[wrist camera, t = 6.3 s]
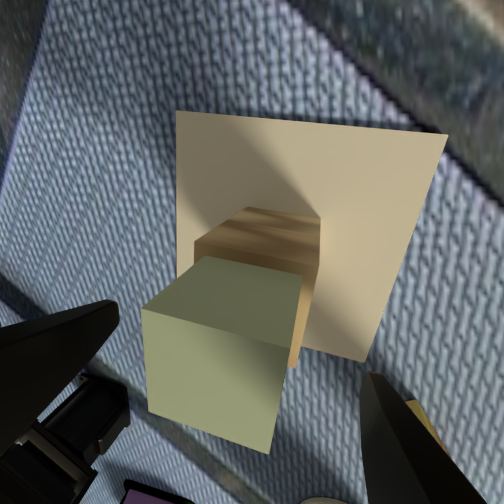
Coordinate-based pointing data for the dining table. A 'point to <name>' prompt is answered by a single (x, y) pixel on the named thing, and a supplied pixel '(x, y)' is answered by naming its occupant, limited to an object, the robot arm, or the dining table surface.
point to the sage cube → (221, 348)
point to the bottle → (322, 501)
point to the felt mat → (312, 204)
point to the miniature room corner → (149, 495)
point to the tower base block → (279, 220)
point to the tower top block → (268, 259)
